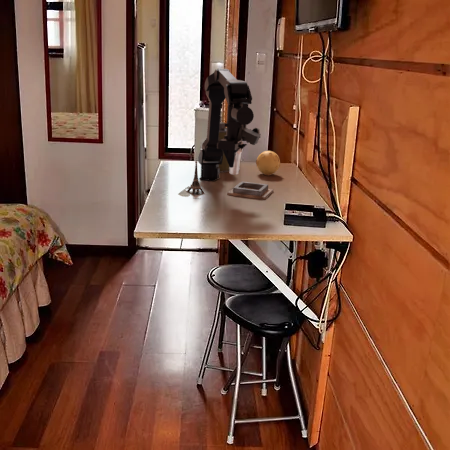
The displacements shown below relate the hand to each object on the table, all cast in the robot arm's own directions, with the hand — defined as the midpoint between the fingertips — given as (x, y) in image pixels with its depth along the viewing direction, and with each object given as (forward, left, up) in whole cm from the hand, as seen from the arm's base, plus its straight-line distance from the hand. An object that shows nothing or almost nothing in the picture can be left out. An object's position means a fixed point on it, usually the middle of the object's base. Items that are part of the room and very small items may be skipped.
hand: (233, 166), depth 192 cm
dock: (+3, +13, -12) cm, 18 cm away
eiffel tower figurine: (-16, +4, -13) cm, 21 cm away
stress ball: (+1, +44, -13) cm, 46 cm away
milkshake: (0, 0, -3) cm, 3 cm away
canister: (-20, +43, -13) cm, 49 cm away
